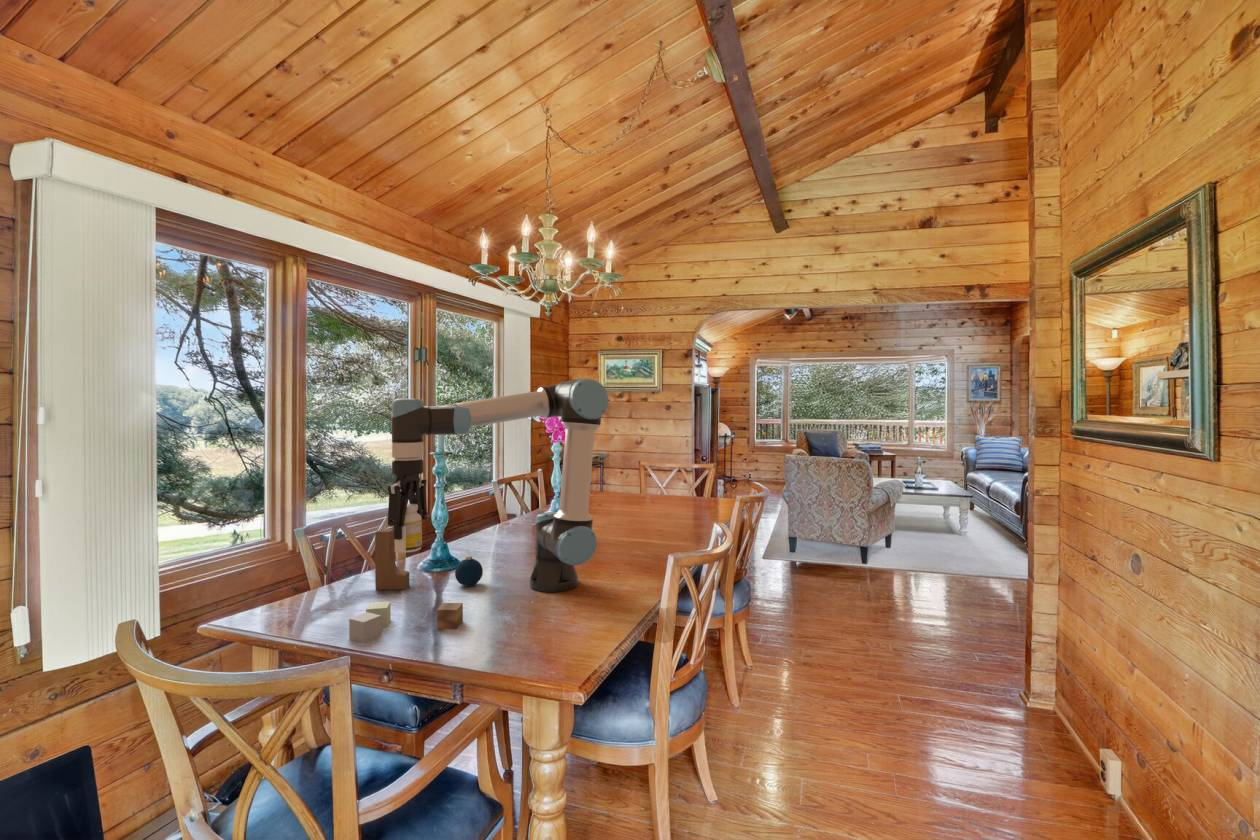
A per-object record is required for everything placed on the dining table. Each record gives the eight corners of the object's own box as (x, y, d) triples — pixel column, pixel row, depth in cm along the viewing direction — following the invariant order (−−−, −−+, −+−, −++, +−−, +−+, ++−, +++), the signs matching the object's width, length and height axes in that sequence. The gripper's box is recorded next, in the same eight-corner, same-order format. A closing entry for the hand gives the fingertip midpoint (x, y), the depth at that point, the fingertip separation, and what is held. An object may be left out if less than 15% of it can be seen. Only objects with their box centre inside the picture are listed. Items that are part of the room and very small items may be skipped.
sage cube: (390, 620, 150) (390, 601, 150) (387, 627, 145) (387, 607, 145) (370, 621, 149) (370, 602, 149) (366, 628, 144) (365, 609, 144)
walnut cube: (462, 621, 149) (462, 603, 149) (456, 629, 144) (456, 609, 144) (443, 621, 149) (443, 602, 149) (437, 629, 144) (437, 609, 144)
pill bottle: (399, 547, 149) (399, 503, 149) (424, 546, 150) (424, 502, 149) (391, 553, 142) (390, 507, 142) (417, 553, 143) (417, 507, 143)
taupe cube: (381, 635, 140) (381, 615, 140) (363, 643, 135) (363, 622, 135) (367, 631, 142) (366, 612, 142) (349, 639, 138) (349, 618, 138)
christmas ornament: (486, 586, 178) (486, 554, 178) (460, 591, 173) (460, 558, 173) (477, 579, 185) (477, 549, 184) (451, 584, 180) (451, 552, 180)
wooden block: (409, 585, 179) (409, 528, 178) (404, 590, 174) (404, 531, 174) (380, 585, 178) (380, 528, 178) (374, 590, 174) (374, 531, 173)
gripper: (415, 455, 156) (416, 538, 156) (370, 462, 137) (371, 557, 137) (440, 455, 154) (441, 540, 155) (398, 462, 135) (399, 559, 136)
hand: (408, 548), depth 146 cm, fingers closed on pill bottle, 6 cm apart
